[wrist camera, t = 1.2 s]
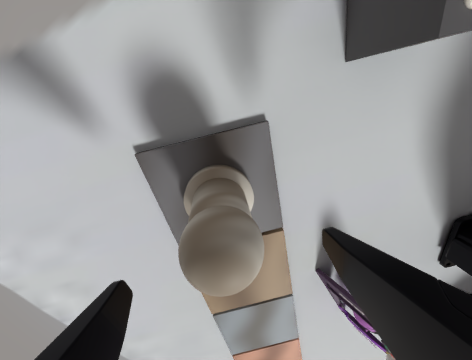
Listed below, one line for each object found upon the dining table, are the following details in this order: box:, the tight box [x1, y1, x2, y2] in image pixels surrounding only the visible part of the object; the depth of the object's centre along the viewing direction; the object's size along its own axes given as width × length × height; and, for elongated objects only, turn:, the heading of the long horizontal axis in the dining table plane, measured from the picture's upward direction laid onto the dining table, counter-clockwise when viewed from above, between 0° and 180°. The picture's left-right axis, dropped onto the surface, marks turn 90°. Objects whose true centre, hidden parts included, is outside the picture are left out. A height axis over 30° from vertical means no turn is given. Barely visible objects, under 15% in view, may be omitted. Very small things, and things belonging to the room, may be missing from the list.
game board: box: [135, 121, 302, 360], centre depth 19 cm, size 9×36×1 cm, turn 13°
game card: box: [316, 268, 395, 360], centre depth 18 cm, size 7×5×9 cm
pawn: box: [178, 165, 264, 297], centre depth 10 cm, size 5×5×7 cm
